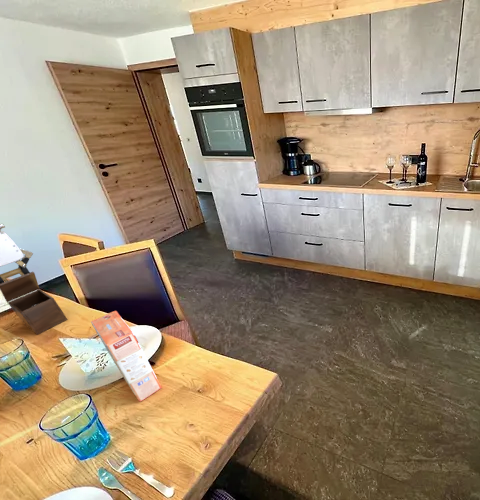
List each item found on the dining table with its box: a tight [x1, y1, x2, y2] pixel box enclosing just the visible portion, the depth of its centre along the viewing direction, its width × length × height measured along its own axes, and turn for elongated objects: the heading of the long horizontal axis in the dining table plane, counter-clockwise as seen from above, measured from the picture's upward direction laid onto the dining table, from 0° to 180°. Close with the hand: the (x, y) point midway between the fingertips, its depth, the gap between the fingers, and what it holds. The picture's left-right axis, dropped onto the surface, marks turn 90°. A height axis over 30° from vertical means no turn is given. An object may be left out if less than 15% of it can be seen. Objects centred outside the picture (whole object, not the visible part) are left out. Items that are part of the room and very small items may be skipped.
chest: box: [7, 288, 68, 336], centre depth 104 cm, size 12×9×10 cm
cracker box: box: [90, 310, 162, 403], centre depth 77 cm, size 14×6×21 cm, turn 51°
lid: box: [0, 267, 40, 303], centre depth 100 cm, size 13×9×5 cm
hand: (15, 280), depth 98 cm, fingers closed on lid, 5 cm apart
